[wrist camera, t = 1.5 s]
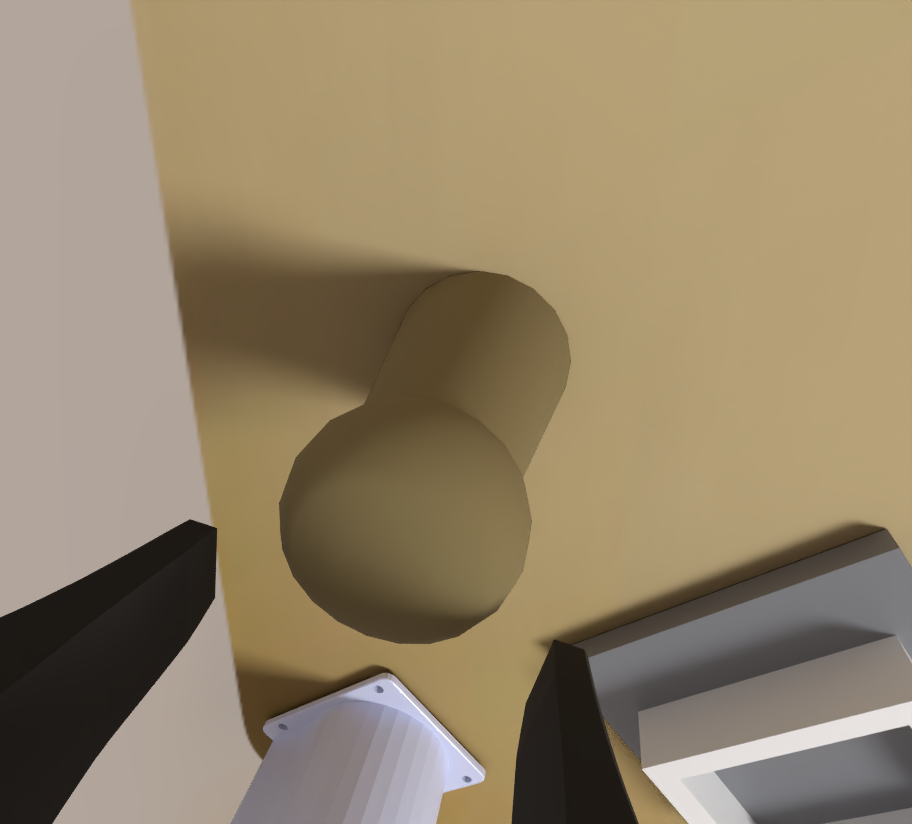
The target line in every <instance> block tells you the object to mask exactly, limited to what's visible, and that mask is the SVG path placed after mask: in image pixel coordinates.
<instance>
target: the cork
mask: <svg viewBox="0 0 912 824" xmlns="http://www.w3.org/2000/svg"><path fill="white" fill-rule="evenodd" d="M570 364H571V358H570V351H569V344H568V337H567V333H566V331H565V329H564V327H563V325H562V323H561V321H560V319H559V318H558V316H557V314H556V312H555V310H554V309H553V308H552V307H551V306H550V305H549V304H548V303H547V302H546V301H545V300H544V299H543V298H542V297H541V296H540V295H539V294H538V293H537V292H536V291H535V290H534V289H533V288H531V287H529V286H527V285H525V284H523V283H521V282H519V281H517V280H515V279H513V278H511V277H509V276H506V275H499V274H493V273H487V272H480V271H476V272H470V273H464V274H458V275H452V276H449V277H447V278H445V279H443V280H442V281H440V282H438V283H436V284H434V285H432V286H430V287H429V288H427V289H426V290H425V291H424V292H423V293H422V294H421V295H420V296H419V297H418V298H417V299H416V301H415V302H414V303H413V304H412V305H411V306H410V307H409V308H408V311H407V313H406V315H405V317H404V319H403V321H402V324H401V326H400V328H399V330H398V332H397V334H396V337H395V339H394V341H393V343H392V345H391V347H390V350H389V352H388V354H387V356H386V358H385V360H384V363H383V365H382V367H381V369H380V371H379V373H378V376H377V378H376V380H375V382H374V384H373V386H372V389H371V391H370V393H369V395H368V397H367V399H366V402H365V404H364V405H362V406H360V407H358V408H355V409H353V410H351V411H349V412H347V413H345V414H343V415H341V416H339V417H336V418H334V419H332V420H330V421H329V422H328V423H327V424H326V425H325V427H324V428H323V429H322V430H321V431H320V432H319V433H318V434H317V435H316V436H315V437H314V438H313V439H312V440H311V441H310V442H309V444H308V445H307V446H306V447H305V448H304V449H303V450H302V451H301V452H300V453H299V455H298V456H297V457H296V459H295V461H294V464H293V467H292V469H291V472H290V475H289V478H288V480H287V483H286V486H285V489H284V492H283V494H282V497H281V500H280V503H279V510H280V532H281V541H282V550H283V552H284V555H285V557H286V560H287V562H288V565H289V567H290V570H291V572H292V575H293V577H294V578H295V579H296V581H297V582H298V583H299V585H300V586H301V587H302V588H303V590H304V591H305V592H306V594H307V595H308V596H309V597H310V599H311V600H312V601H313V602H314V603H315V604H317V605H318V606H319V607H320V608H322V609H323V610H324V611H325V612H327V613H328V614H329V615H330V616H332V617H333V618H334V619H335V620H337V621H338V622H340V623H342V624H344V625H346V626H348V627H350V628H352V629H354V630H356V631H358V632H360V633H362V634H364V635H366V636H370V637H374V638H378V639H382V640H386V641H390V642H394V643H399V644H431V643H435V642H439V641H442V640H446V639H450V638H454V637H458V636H459V635H461V634H463V633H464V632H466V631H467V630H469V629H470V628H472V627H473V626H475V625H476V624H478V623H479V622H481V621H482V620H484V619H485V618H487V617H488V616H490V615H492V614H493V613H495V612H496V611H497V610H498V608H499V607H500V606H501V604H502V603H503V601H504V600H505V598H506V597H507V595H508V594H509V593H510V591H511V590H512V588H513V587H514V585H515V583H516V582H517V580H518V578H519V576H520V575H521V573H522V571H523V568H524V563H525V558H526V553H527V548H528V543H529V538H530V531H531V523H532V520H531V514H530V509H529V504H528V498H527V493H526V488H525V484H524V480H523V476H524V474H525V472H526V470H527V468H528V466H529V464H530V461H531V459H532V457H533V455H534V453H535V451H536V449H537V447H538V445H539V442H540V440H541V438H542V436H543V434H544V432H545V430H546V428H547V425H548V423H549V421H550V419H551V417H552V415H553V413H554V411H555V409H556V406H557V404H558V402H559V400H560V398H561V396H562V394H563V392H564V389H565V387H566V383H567V378H568V373H569V369H570Z"/></svg>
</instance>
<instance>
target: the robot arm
mask: <svg viewBox="0 0 912 824" xmlns="http://www.w3.org/2000/svg"><path fill="white" fill-rule="evenodd" d="M216 548H217V528H215V527H212V526H209V525H206V524H203V523H200V522H196V521H194V520H188V521H186V522H184V523H182V524H180V525H179V526H177V527H175V528H173V529H171V530H170V531H168V532H166V533H164V534H163V535H161V536H159V537H157V538H155V539H154V540H152V541H150V542H148V543H146V544H145V545H143V546H141V547H139V548H137V549H136V550H134V551H132V552H130V553H128V554H127V555H125V556H123V557H121V558H119V559H117V560H116V561H114V562H112V563H110V564H108V565H106V566H104V567H103V568H101V569H99V570H97V571H95V572H93V573H91V574H90V575H88V576H86V577H84V578H82V579H80V580H78V581H76V582H74V583H72V584H70V585H68V586H66V587H64V588H62V589H60V590H58V591H56V592H54V593H52V594H50V595H48V596H46V597H44V598H42V599H39V600H37V601H35V602H33V603H31V604H29V605H27V606H25V607H23V608H20V609H18V610H16V611H14V612H12V613H9V614H7V615H5V616H3V617H0V824H52V823H53V822H54V820H55V818H56V817H57V815H58V814H59V812H60V810H61V809H62V808H63V806H64V805H65V803H66V802H67V800H68V799H69V797H70V796H71V794H72V792H73V791H74V790H75V788H76V787H77V785H78V784H79V782H80V781H81V779H82V778H83V776H84V775H85V773H86V772H87V770H88V769H89V767H90V766H91V764H92V763H93V761H94V760H95V758H96V757H97V756H98V755H99V753H100V752H101V751H102V749H103V748H104V747H105V745H106V744H107V743H108V741H109V740H110V739H111V737H112V736H113V735H114V734H115V732H116V731H117V730H118V729H119V727H120V726H121V725H122V724H123V722H124V721H125V720H126V719H127V717H128V716H129V715H130V714H131V712H132V711H133V710H134V709H135V707H136V706H137V705H138V704H139V702H140V701H141V700H142V699H143V697H144V696H145V695H146V694H147V692H148V691H149V690H150V689H151V687H152V686H153V685H154V684H155V682H156V681H157V680H158V679H159V678H160V676H161V675H162V674H163V672H164V671H165V670H166V669H167V667H168V666H169V665H170V664H171V662H172V661H173V660H174V658H175V657H176V656H177V655H178V653H179V652H180V651H181V650H182V648H183V647H184V646H185V644H186V643H187V642H188V640H189V639H190V637H191V636H192V634H193V632H194V631H195V629H196V628H197V626H198V625H199V623H200V622H201V620H202V618H203V616H204V615H205V613H206V612H207V610H208V608H209V607H210V605H211V603H212V601H213V600H214V598H215V579H216ZM263 731H264V733H265V734H266V735H267V736H268V737H269V738H271V739H272V740H273V742H272V744H271V746H270V748H269V750H268V752H267V754H266V756H265V757H264V759H263V761H262V763H261V765H260V768H259V769H258V771H257V773H256V775H255V777H254V779H253V781H252V783H251V785H250V787H249V789H248V791H247V792H246V795H245V796H244V798H243V800H242V802H241V804H240V806H239V808H238V810H237V812H236V814H235V816H234V818H233V820H232V822H231V824H436V821H437V817H438V812H439V808H440V804H441V799H442V795H443V793H444V792H448V791H451V790H455V789H459V788H462V787H466V786H470V785H473V784H477V783H480V782H482V781H483V780H484V778H485V770H484V768H483V767H482V766H481V765H480V764H479V763H478V762H477V761H476V760H475V759H474V758H473V757H472V756H471V755H470V754H469V753H468V752H467V751H466V750H465V749H464V747H463V746H462V745H461V744H460V743H459V742H458V741H457V740H456V739H455V738H454V737H453V736H452V735H451V734H450V733H449V732H448V731H447V730H446V729H445V728H444V727H443V726H442V725H441V724H440V723H439V722H438V720H437V719H436V718H435V717H434V716H433V715H432V714H431V713H430V712H429V711H428V710H427V709H426V708H425V707H424V706H423V705H422V704H421V703H420V702H419V701H418V700H417V699H416V698H415V697H414V696H413V695H412V694H411V692H410V691H409V690H408V689H407V688H406V687H405V686H404V685H403V684H402V683H401V682H400V681H399V680H398V679H397V678H396V677H395V676H394V675H392V674H390V673H381V674H379V675H376V676H374V677H372V678H369V679H367V680H364V681H362V682H359V683H357V684H354V685H352V686H350V687H347V688H345V689H342V690H340V691H337V692H335V693H333V694H330V695H328V696H325V697H323V698H320V699H318V700H315V701H313V702H311V703H308V704H306V705H303V706H301V707H298V708H296V709H294V710H291V711H289V712H286V713H284V714H281V715H279V716H276V717H274V718H272V719H269V720H267V721H266V722H265V724H264V726H263ZM512 824H639V823H638V821H637V818H636V815H635V813H634V810H633V807H632V805H631V802H630V799H629V797H628V794H627V791H626V788H625V785H624V783H623V780H622V777H621V774H620V771H619V768H618V765H617V762H616V759H615V755H614V752H613V749H612V746H611V743H610V740H609V737H608V733H607V730H606V726H605V723H604V720H603V716H602V712H601V709H600V705H599V701H598V697H597V694H596V690H595V686H594V681H593V677H592V673H591V668H590V664H589V659H588V655H587V653H586V651H585V650H584V649H582V648H579V647H576V646H573V645H569V644H566V643H563V642H560V641H557V640H554V641H553V644H552V646H551V648H550V650H549V653H548V655H547V657H546V659H545V662H544V664H543V666H542V668H541V671H540V673H539V675H538V677H537V680H536V682H535V684H534V686H533V689H532V691H531V693H530V695H529V698H528V700H527V702H526V706H525V711H524V717H523V722H522V728H521V733H520V739H519V745H518V751H517V758H516V771H515V784H514V798H513V812H512Z"/></svg>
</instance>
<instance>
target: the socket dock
mask: <svg viewBox="0 0 912 824" xmlns="http://www.w3.org/2000/svg"><path fill="white" fill-rule="evenodd" d="M573 646H576V647H579V648H582V649H584V650H585V651H586V653H587V655H588V659H589V664H590V668H591V673H592V677H593V681H594V686H595V690H596V694H597V697H598V701H599V705H600V709H601V712H602V716H603V717H604V718H605V720H606V721H607V722H608V723H609V724H610V725H611V727H612V728H613V729H614V730H615V731H616V732H617V734H618V735H619V736H620V737H621V738H622V739H623V741H624V742H625V743H626V744H627V745H628V746H629V748H630V749H631V750H632V751H633V752H634V753H635V755H636V756H637V757H638V758H639V759H640V760H641V765H642V770H643V771H644V772H645V773H646V775H647V776H648V777H649V778H650V779H651V780H652V782H653V783H654V784H655V785H656V786H657V787H658V788H659V790H660V791H661V792H662V793H663V794H664V795H665V797H666V798H667V799H668V800H669V801H670V802H671V804H672V805H673V806H674V807H675V808H676V809H677V811H678V812H679V813H680V814H681V815H682V816H683V818H684V819H685V820H686V821H687V822H688V823H689V824H912V567H911V566H910V564H909V562H908V561H907V559H906V557H905V556H904V554H903V553H902V551H901V549H900V548H899V546H898V545H897V543H896V542H895V540H894V539H893V537H892V536H891V534H890V533H889V531H888V530H887V529H885V530H882V531H879V532H877V533H874V534H871V535H869V536H866V537H863V538H860V539H858V540H855V541H852V542H850V543H847V544H844V545H842V546H839V547H836V548H833V549H831V550H828V551H825V552H823V553H820V554H817V555H814V556H812V557H809V558H806V559H804V560H801V561H798V562H795V563H793V564H790V565H787V566H785V567H782V568H779V569H776V570H774V571H771V572H768V573H766V574H763V575H760V576H757V577H755V578H752V579H749V580H747V581H744V582H741V583H739V584H736V585H733V586H730V587H728V588H725V589H722V590H720V591H717V592H714V593H711V594H709V595H706V596H703V597H701V598H698V599H695V600H692V601H690V602H687V603H684V604H682V605H679V606H676V607H673V608H671V609H668V610H665V611H663V612H660V613H657V614H654V615H652V616H649V617H646V618H644V619H641V620H638V621H636V622H633V623H630V624H627V625H625V626H622V627H619V628H617V629H614V630H611V631H608V632H606V633H603V634H600V635H598V636H595V637H592V638H589V639H587V640H584V641H581V642H579V643H576V644H573Z"/></svg>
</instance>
